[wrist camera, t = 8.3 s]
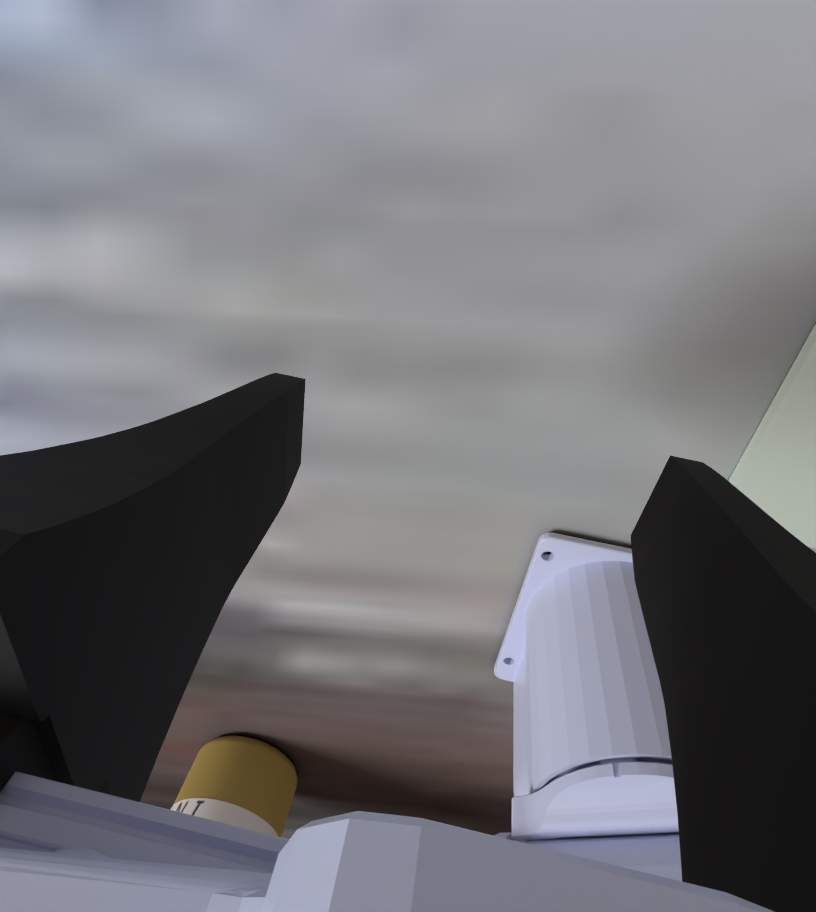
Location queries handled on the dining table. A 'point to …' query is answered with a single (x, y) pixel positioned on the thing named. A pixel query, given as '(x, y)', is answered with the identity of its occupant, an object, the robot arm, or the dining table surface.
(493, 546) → the dining table surface
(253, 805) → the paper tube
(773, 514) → the board
